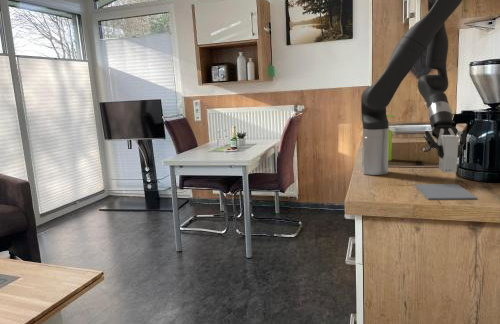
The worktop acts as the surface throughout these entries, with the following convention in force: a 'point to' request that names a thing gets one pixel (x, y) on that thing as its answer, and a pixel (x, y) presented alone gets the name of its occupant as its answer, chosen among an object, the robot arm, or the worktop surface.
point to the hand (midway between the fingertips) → (450, 156)
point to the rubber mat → (444, 192)
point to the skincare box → (449, 153)
